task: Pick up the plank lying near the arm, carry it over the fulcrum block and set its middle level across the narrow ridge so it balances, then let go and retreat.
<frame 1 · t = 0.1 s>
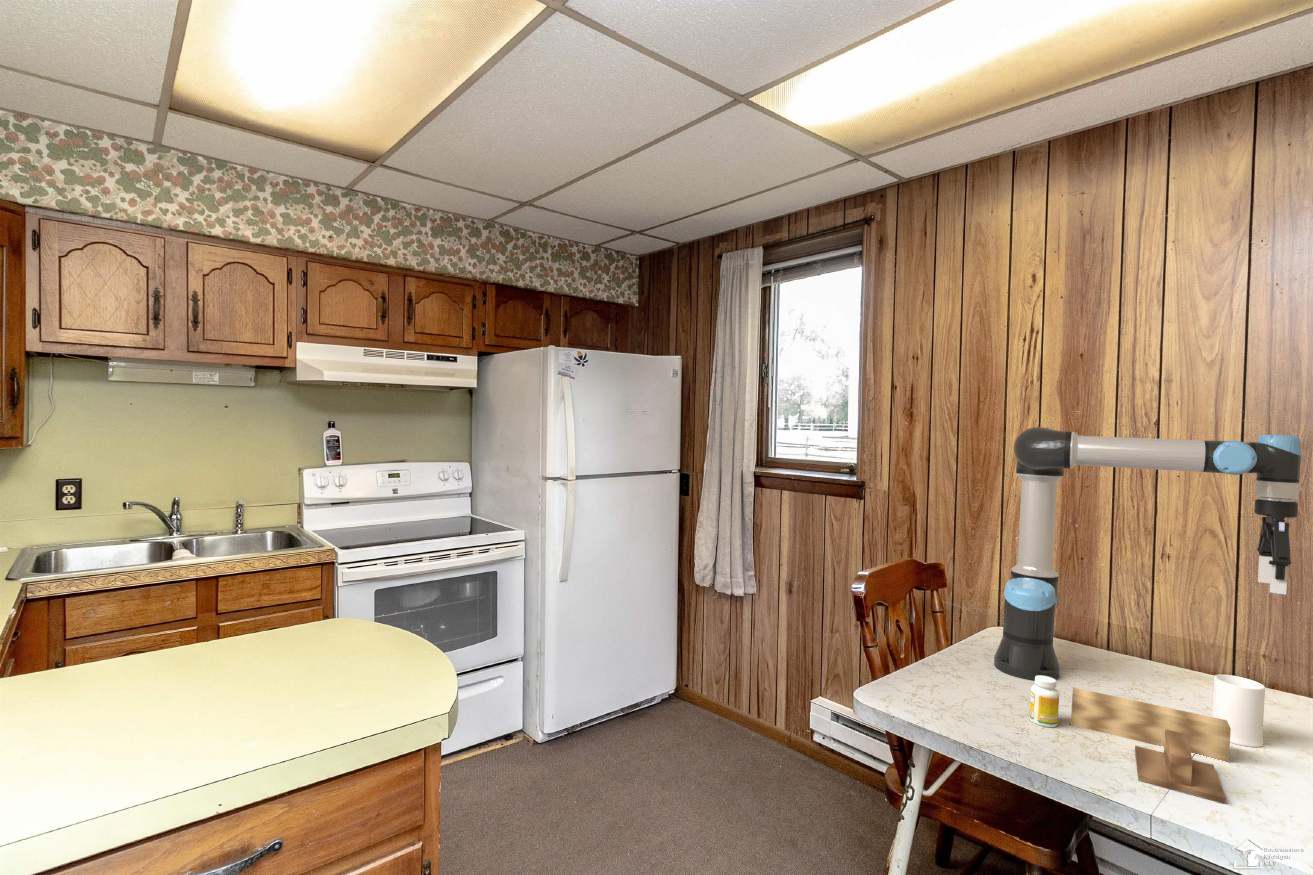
hand: (1271, 588, 157), 28 cm above the table, fingers open, 13 cm apart
mug: (1233, 735, 140), on the table
fulcrum: (1176, 775, 122), on the table
supplement bottle: (1043, 723, 142), on the table
plank: (1144, 739, 137), on the table
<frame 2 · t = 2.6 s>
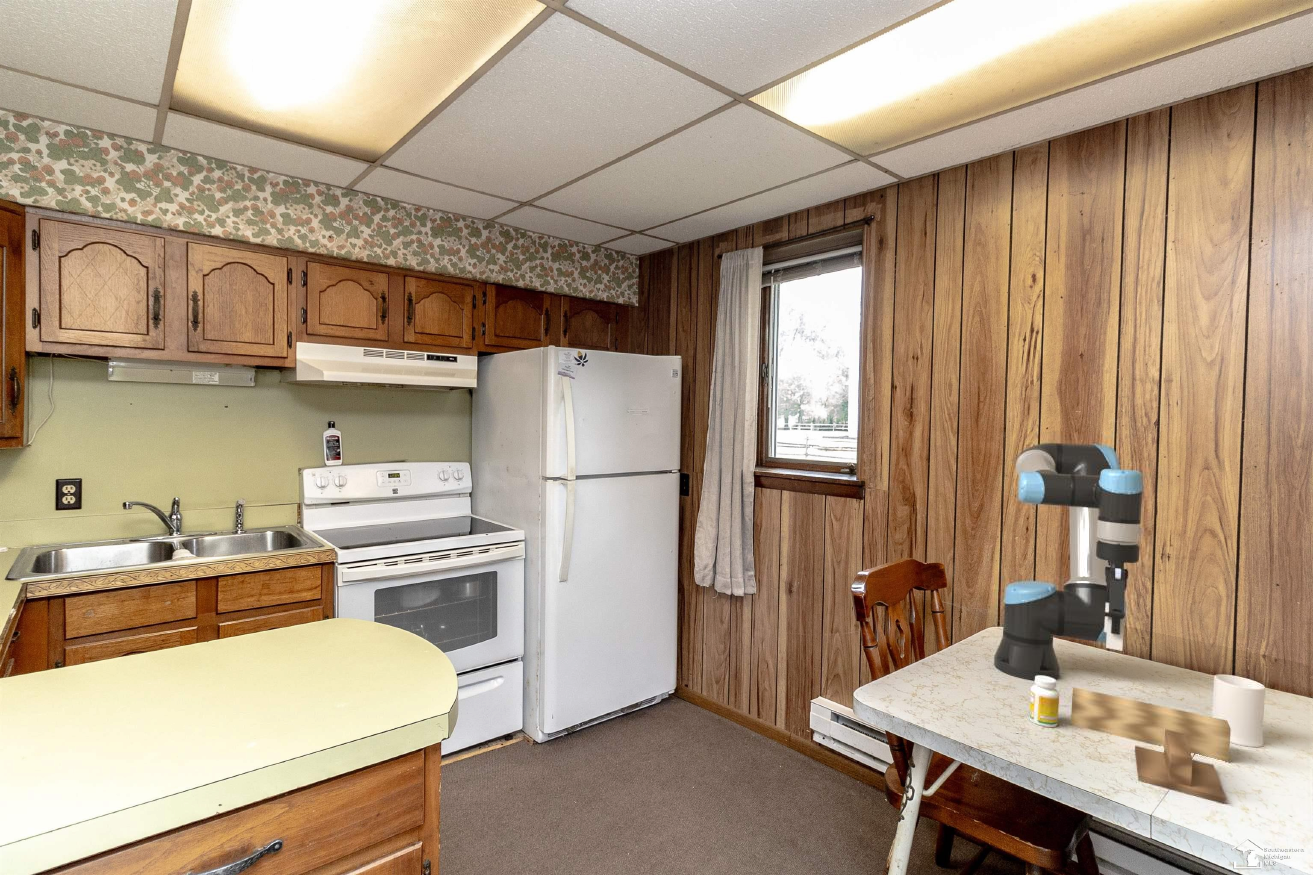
hand: (1112, 640, 140), 19 cm above the table, fingers open, 13 cm apart
nothing on the table moved.
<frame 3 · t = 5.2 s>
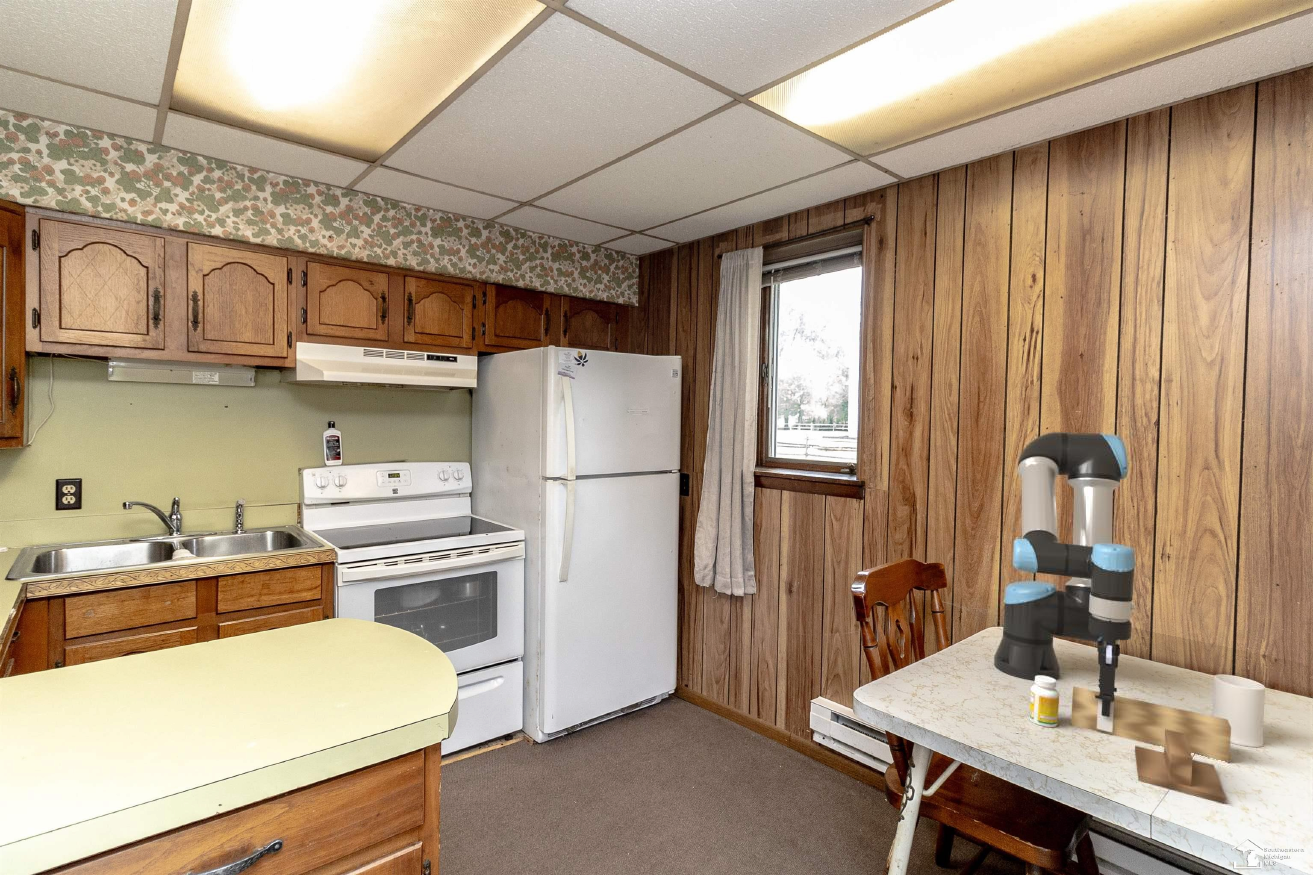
hand: (1104, 725, 140), 1 cm above the table, fingers closed on plank, 4 cm apart
plank: (1145, 738, 136), on the table, touching gripper
everything else where it was.
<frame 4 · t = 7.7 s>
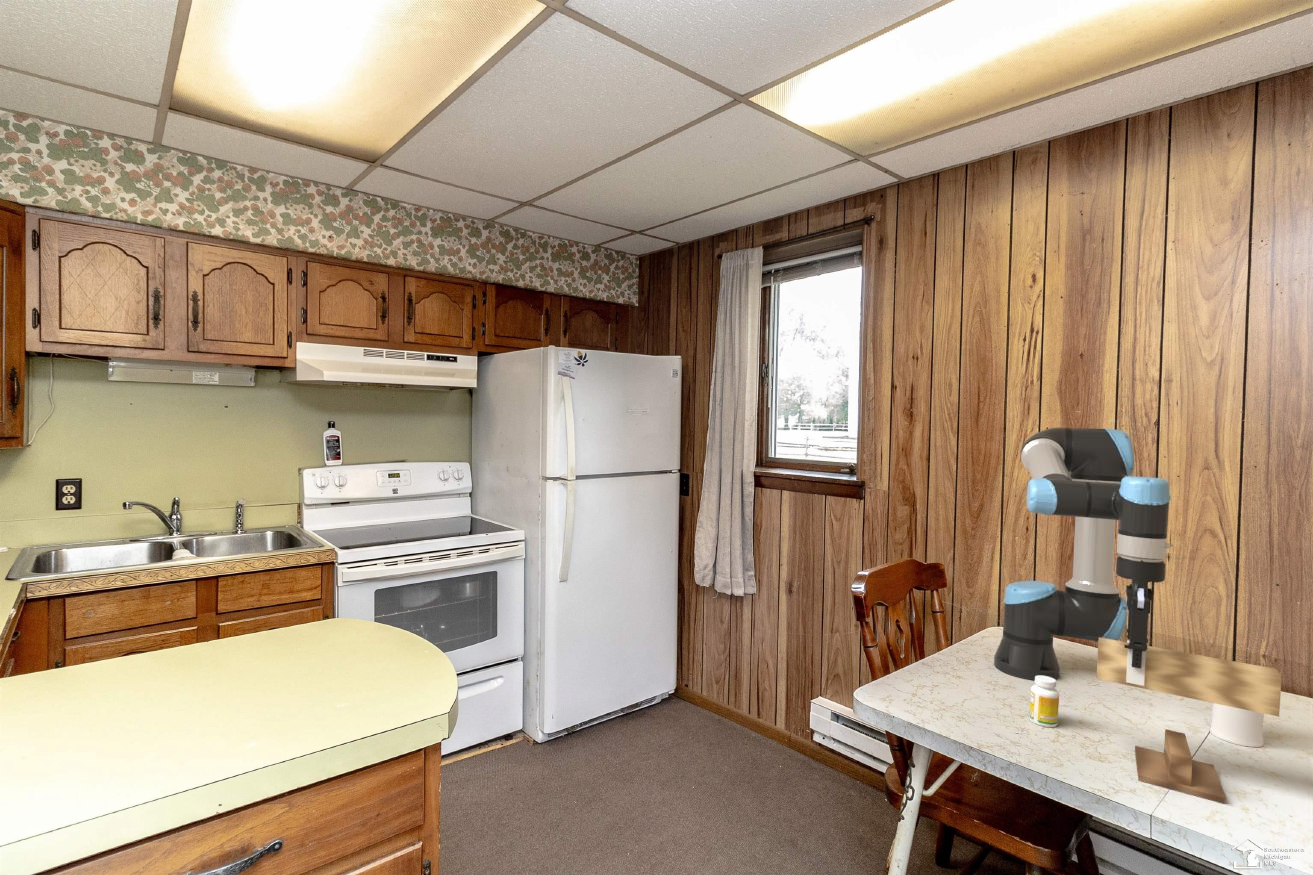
hand: (1134, 679, 125), 16 cm above the table, fingers closed on plank, 4 cm apart
plank: (1181, 692, 122), point 15 cm above the table, touching gripper
everything else where it was.
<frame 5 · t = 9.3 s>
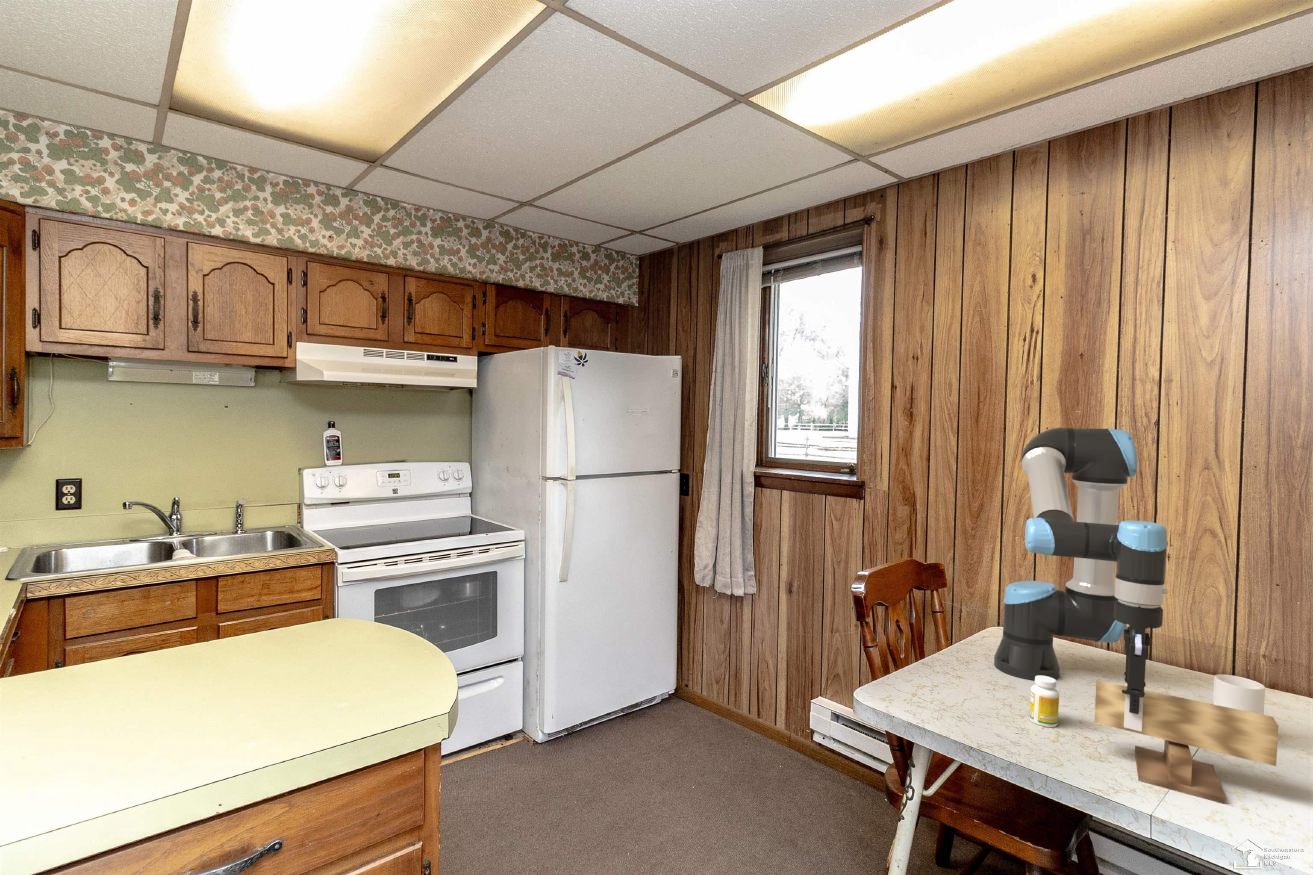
hand: (1131, 723, 126), 8 cm above the table, fingers closed on plank, 4 cm apart
plank: (1178, 738, 122), point 7 cm above the table, touching gripper
everything else where it was.
when the fingers open (8 cm above the table, at t = 10.3 s): plank stays where it is, resting on fulcrum.
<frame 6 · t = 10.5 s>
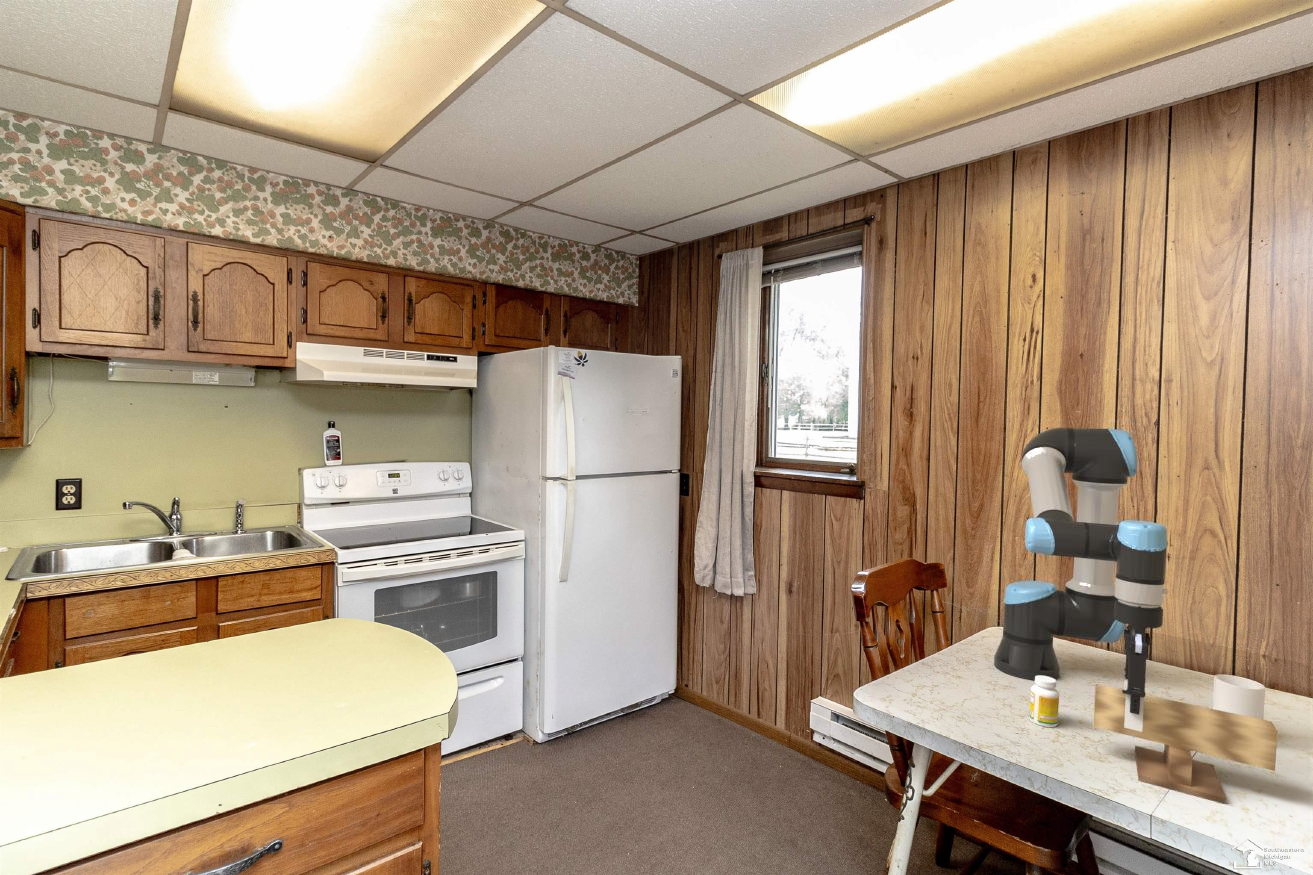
hand: (1132, 721, 126), 8 cm above the table, fingers open, 7 cm apart
plank: (1177, 742, 122), point 6 cm above the table, touching fulcrum
everything else where it was.
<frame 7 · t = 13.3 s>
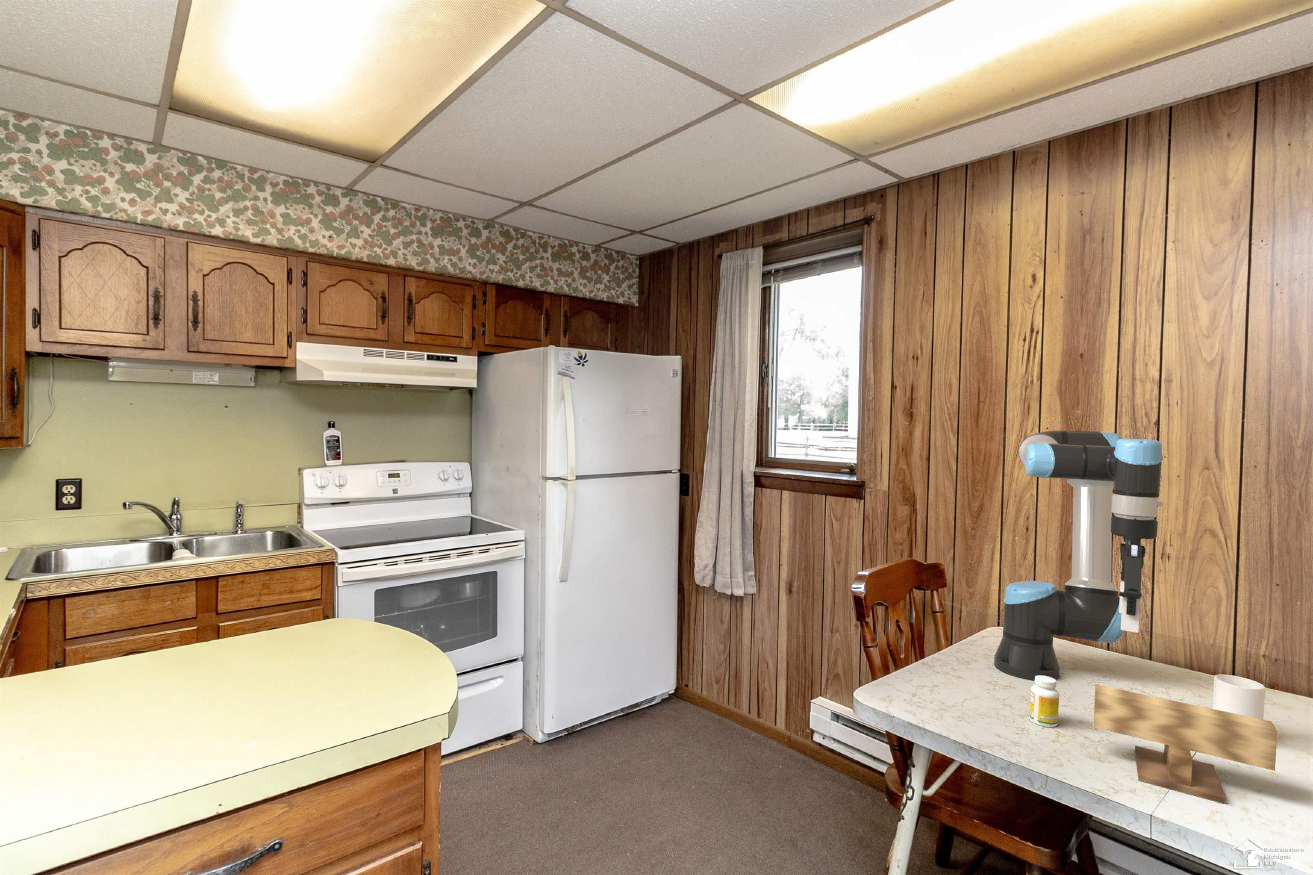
hand: (1128, 622, 131), 26 cm above the table, fingers open, 13 cm apart
nothing on the table moved.
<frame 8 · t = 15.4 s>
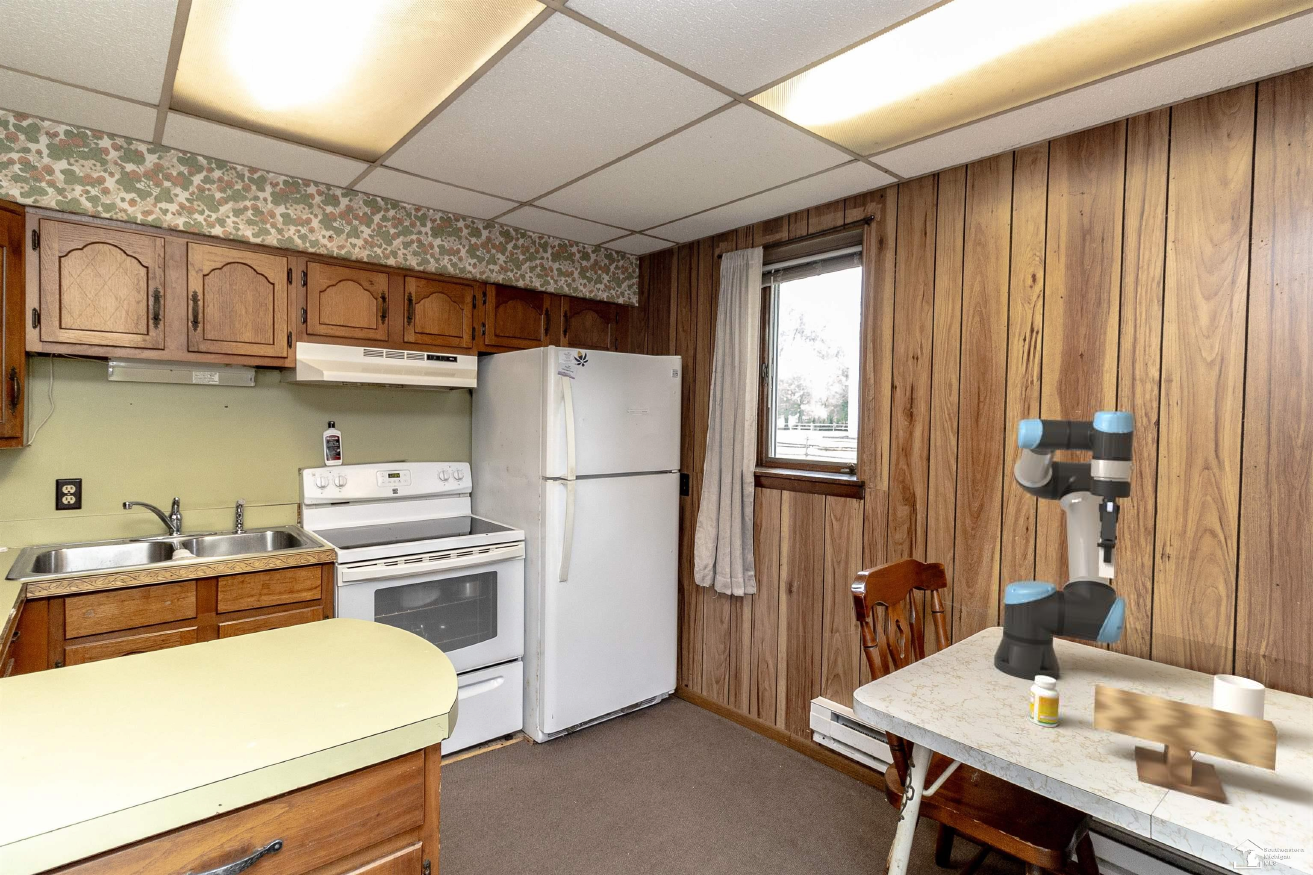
hand: (1105, 572, 150), 32 cm above the table, fingers open, 13 cm apart
nothing on the table moved.
at the end: plank 0.1 cm off-centre on the fulcrum, point 6.0 cm above the fulcrum's base; plank tilted 0°; plank touching fulcrum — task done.
